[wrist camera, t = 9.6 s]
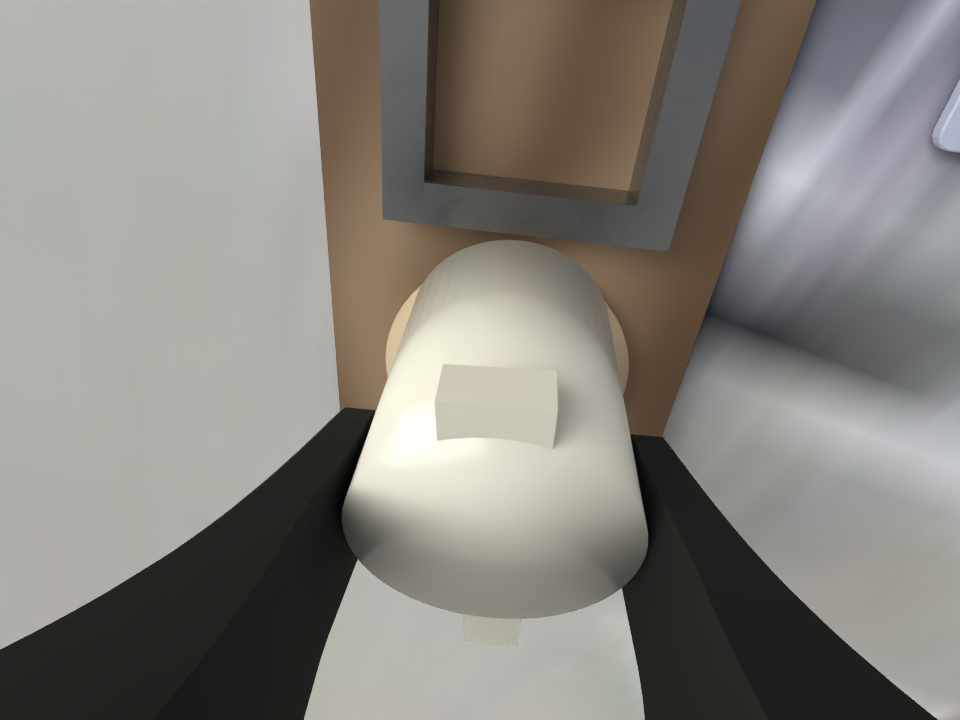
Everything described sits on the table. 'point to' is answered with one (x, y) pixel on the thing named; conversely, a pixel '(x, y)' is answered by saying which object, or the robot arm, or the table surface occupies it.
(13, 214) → the table surface
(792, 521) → the table surface
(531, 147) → the board
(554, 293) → the cream tapered cylinder
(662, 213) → the socket
